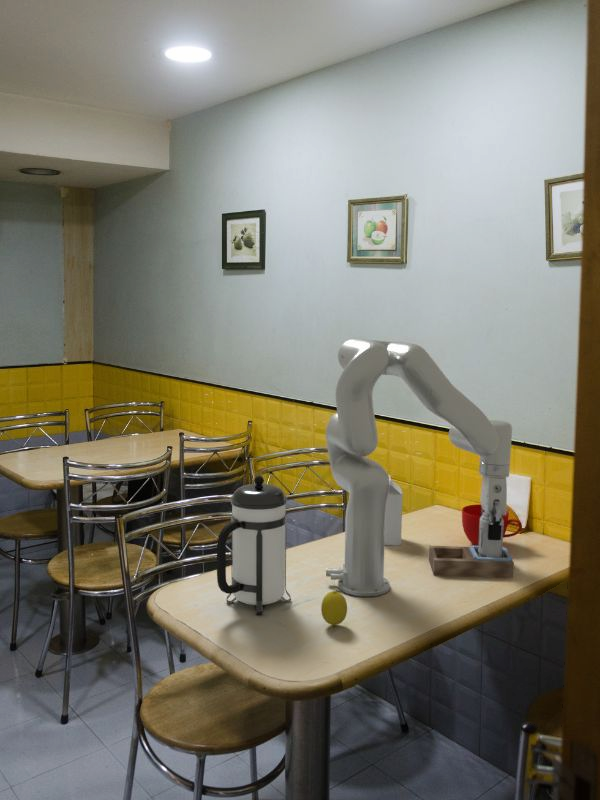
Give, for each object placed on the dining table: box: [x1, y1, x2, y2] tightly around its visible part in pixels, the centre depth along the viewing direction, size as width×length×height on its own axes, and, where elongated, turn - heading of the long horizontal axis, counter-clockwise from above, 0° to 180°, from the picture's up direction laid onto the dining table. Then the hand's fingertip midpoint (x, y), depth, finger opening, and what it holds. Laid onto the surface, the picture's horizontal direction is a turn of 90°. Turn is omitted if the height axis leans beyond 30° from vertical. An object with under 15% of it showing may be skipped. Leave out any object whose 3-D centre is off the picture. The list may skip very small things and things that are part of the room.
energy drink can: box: [478, 511, 504, 558], centre depth 191 cm, size 6×6×15 cm
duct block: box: [428, 545, 515, 579], centre depth 192 cm, size 20×11×5 cm, turn 87°
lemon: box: [320, 590, 348, 627], centre depth 158 cm, size 6×6×8 cm
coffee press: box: [216, 475, 292, 616], centre depth 167 cm, size 17×16×30 cm
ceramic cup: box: [461, 504, 523, 546], centre depth 210 cm, size 13×17×10 cm
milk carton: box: [384, 474, 403, 547], centre depth 212 cm, size 7×7×19 cm
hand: (490, 533), depth 191 cm, fingers open, 9 cm apart
